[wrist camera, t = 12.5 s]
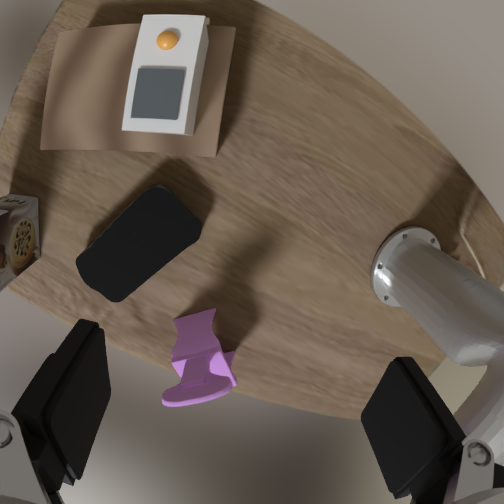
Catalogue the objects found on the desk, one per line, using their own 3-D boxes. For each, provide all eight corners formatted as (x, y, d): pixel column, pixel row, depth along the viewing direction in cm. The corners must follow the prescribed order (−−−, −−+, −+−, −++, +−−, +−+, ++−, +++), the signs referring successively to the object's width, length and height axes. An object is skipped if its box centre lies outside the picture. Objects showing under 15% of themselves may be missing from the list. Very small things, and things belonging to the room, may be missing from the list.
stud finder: (208, 41, 24) (204, 14, 18) (193, 135, 28) (183, 133, 21) (159, 39, 24) (142, 13, 17) (143, 132, 27) (120, 130, 20)
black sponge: (164, 173, 34) (158, 177, 31) (208, 227, 37) (207, 236, 34) (79, 254, 37) (68, 265, 33) (120, 299, 40) (113, 312, 36)
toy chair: (190, 365, 44) (184, 444, 30) (166, 321, 41) (147, 399, 27) (242, 352, 44) (251, 432, 30) (222, 305, 41) (224, 384, 27)
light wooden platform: (236, 32, 29) (238, 15, 24) (216, 155, 34) (215, 157, 29) (80, 33, 26) (62, 21, 21) (62, 147, 31) (39, 150, 26)
